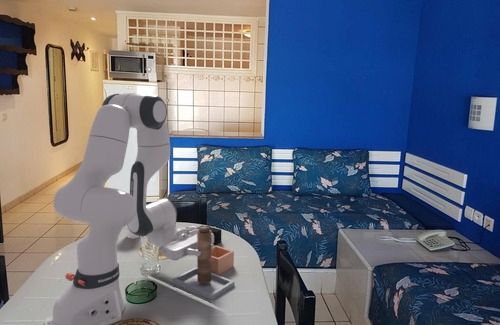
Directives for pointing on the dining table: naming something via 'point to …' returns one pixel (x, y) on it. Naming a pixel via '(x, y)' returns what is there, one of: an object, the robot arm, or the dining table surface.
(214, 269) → the orange open box
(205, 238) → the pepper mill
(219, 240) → the digital camera
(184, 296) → the dining table surface
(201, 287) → the tray
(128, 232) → the foam cup
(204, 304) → the dining table surface
